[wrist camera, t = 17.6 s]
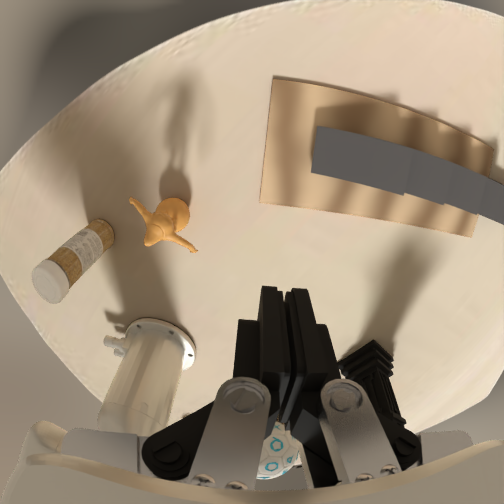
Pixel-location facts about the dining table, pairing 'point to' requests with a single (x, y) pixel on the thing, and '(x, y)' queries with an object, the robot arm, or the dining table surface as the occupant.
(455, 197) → the domino
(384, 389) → the chess piece
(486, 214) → the domino
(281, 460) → the puzzle ball
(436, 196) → the domino
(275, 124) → the cork mat
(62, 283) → the sprinkles bottle
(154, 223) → the figurine
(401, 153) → the domino
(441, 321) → the dining table surface
